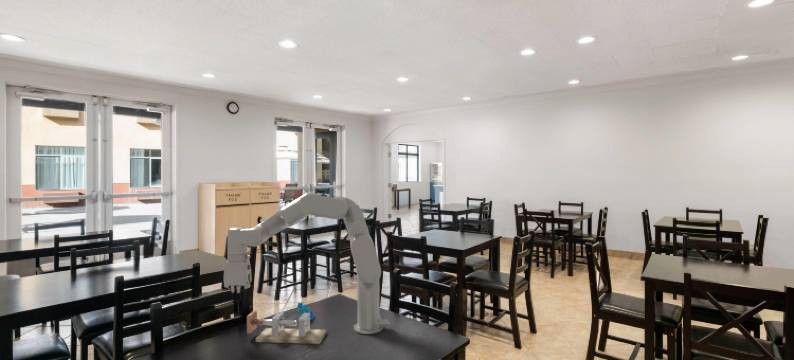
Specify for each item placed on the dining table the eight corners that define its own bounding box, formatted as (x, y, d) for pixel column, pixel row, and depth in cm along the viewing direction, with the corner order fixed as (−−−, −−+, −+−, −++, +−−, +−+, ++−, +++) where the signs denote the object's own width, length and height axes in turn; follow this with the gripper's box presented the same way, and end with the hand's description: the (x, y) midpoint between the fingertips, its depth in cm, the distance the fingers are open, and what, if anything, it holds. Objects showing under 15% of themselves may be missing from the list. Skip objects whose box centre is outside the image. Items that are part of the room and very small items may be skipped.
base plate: (326, 333, 164) (326, 329, 164) (319, 343, 154) (319, 340, 154) (265, 331, 166) (265, 328, 166) (255, 341, 156) (255, 338, 156)
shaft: (299, 328, 163) (298, 311, 162) (294, 334, 157) (294, 317, 156) (253, 327, 164) (253, 310, 164) (247, 333, 158) (246, 316, 158)
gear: (311, 320, 174) (296, 303, 175) (301, 329, 173) (287, 313, 175) (318, 314, 185) (304, 299, 186) (309, 323, 184) (295, 307, 186)
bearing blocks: (309, 330, 163) (309, 312, 163) (304, 337, 156) (304, 319, 156) (278, 329, 164) (278, 312, 164) (271, 336, 157) (271, 318, 157)
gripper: (258, 256, 164) (258, 299, 164) (224, 254, 165) (224, 298, 165) (250, 260, 156) (250, 305, 157) (215, 258, 157) (214, 304, 158)
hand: (237, 301), depth 161 cm, fingers closed
